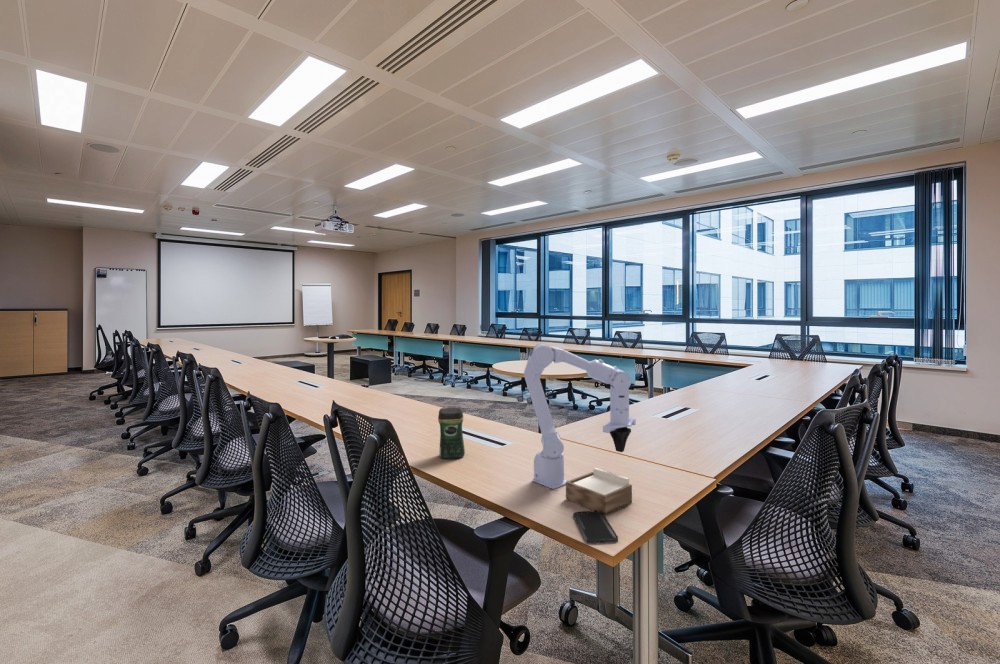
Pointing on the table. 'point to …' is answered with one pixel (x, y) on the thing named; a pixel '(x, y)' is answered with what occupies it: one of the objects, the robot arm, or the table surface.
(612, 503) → the box
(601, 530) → the phone
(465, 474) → the table surface
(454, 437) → the coffee jar
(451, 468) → the table surface
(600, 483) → the lid
